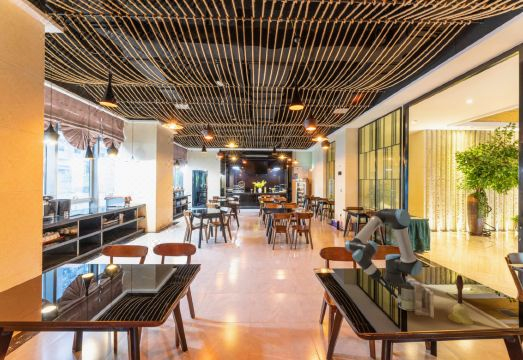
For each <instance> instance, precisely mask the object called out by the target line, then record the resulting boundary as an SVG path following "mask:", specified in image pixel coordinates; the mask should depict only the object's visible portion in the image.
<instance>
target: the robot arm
mask: <svg viewBox="0 0 523 360" xmlns="http://www.w3.org/2000/svg"><path fill="white" fill-rule="evenodd" d="M411 219H412V218H411V216H410V213H409V212H408V211H407V210H405V209H401V208H389V207H388V208H382V209H379V210H378V211H376V212H374V213H373V215H372V216H371V217H370V219H369V221H368V222H367V223H366V224H365V225H364V226H363V227H362V229H361V230H359V232H358V233H357V234H356V235H355V236H354V238H353V239H349V240H346V242H345V243H344V248H345V250H346V251H348V252H352V255H351V256H352V257H351V258H352V259H353V260H354V261H355V263H356V264H358V266H359V267H360V268H361V269H362V270H363V272H364V273H365V274H367V275H368V276H369V277H370V279H372V281H377V282H378V283H379V284H380V285H381V286H382V287H384V288H385V289H386V290H387V292H388V293H389V295H390V296H392V297H393V298H394V299H395V301H396V302H397V303H398V304H399V303H400V302H401V301H402V300H401V298H400V297H399V294H398V293H396V292H395V289H393V288H391V287H390V286H392V287H399V285H398V284H399V283H405V281H404V277H403V274H406V275H409V276H415V277H419V275H420V274H421V272H422V270H423V263H422V261H421V260H418V257H417V255H415V254H414V253H415V252H414V250H413V245H412V243H411V238H410V234H409V231H408V228H409V226H410V224H411ZM385 224H386V225H387V224H388V225H390V226H391V229H392V230H394V233H395V234H394V235H395V236H396V240H397V241H396V242H397V244H398V249H399V252H400V254H399V253H389V254H386V255H385V263H384V264H385V273H384V276H382V271H381V270H380V269H379V268H378V266H377V265H375V264H374V262H373V261H372V260H371V259H372V258H373V256H374V255H375V254H376V253H377V251H378V250H379V245H378V244H377V243H376V242H375V241H374V240H370V241H368V240H369V239H370V238H371V236H372V235H373V234H374V233H375V232H376V230H377V229H378V228H379V227H382V226H383V225H385ZM367 241H368V242H367ZM366 242H367V243H366Z"/></svg>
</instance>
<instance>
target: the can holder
mask: <svg viewBox="0 0 523 360" xmlns="http://www.w3.org/2000/svg"><path fill="white" fill-rule="evenodd" d="M404 278H405V279H404V280H405V283H410V284H411V285H412V286H413V287H414V294H415V311H414V314H415V316H427V317H428V316H429V317H430V318H433V319H435V315H434V314H435V313H434V311H435V310H434V309H435V308H434V305H435V304H434V303H435V302H434V300H435V299H434V292H433V291H432V290H430V289H429V288H428V287H427V286H425V285H424V284H423V283H422V282H421V281H420V282H418V281H417V280H416V279H415V278H413V276H406V275H405V277H404Z"/></svg>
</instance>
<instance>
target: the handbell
mask: <svg viewBox="0 0 523 360" xmlns="http://www.w3.org/2000/svg"><path fill="white" fill-rule="evenodd" d="M463 279H464V278H463V276H462V275H460V274H457V275H456V279H455V281H456V282H455V286H456V287H455V288H456V289H457V290H456V291H457V304H454V305H453V307H452V312H451V313H450V314H448V315H447V319H449V320H450V321H453V322H455V323H458V324H461V323H463V324H462V325H467V324H471V323H473V322H474V320H473V319H472V318H471V317H470V316H469V315H468V308H467V307H466V306H464V304H463V289H464V280H463ZM471 325H472V324H471Z"/></svg>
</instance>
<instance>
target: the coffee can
mask: <svg viewBox="0 0 523 360" xmlns="http://www.w3.org/2000/svg"><path fill="white" fill-rule="evenodd" d="M398 285H399V286H398V296H399V297H400V298H401V300H402V301H401V302H400V303H398V307H399V309H401V310H405V311H406V312H407V311H408V312H415V294H414V287H413V286H412V285H411V284H410V283H406V282H404V283H399V284H398Z"/></svg>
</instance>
